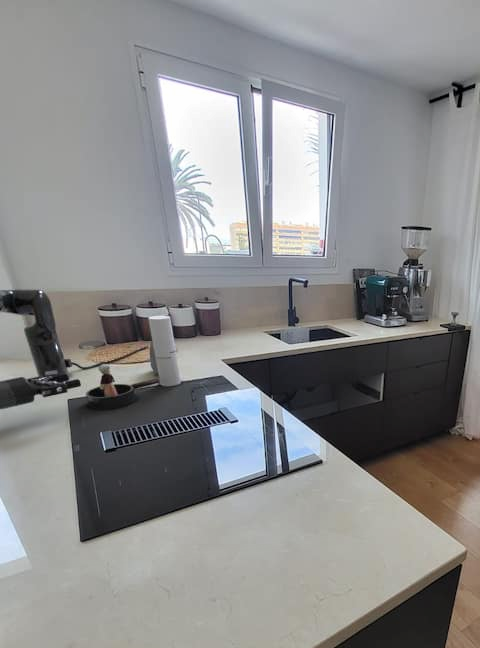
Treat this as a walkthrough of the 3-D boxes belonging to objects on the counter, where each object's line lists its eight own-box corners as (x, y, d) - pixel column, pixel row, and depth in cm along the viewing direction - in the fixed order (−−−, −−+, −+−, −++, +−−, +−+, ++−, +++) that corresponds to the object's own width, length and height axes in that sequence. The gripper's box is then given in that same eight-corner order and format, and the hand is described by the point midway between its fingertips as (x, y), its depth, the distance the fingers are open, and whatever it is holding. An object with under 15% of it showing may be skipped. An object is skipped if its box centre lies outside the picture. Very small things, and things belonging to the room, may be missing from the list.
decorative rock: (151, 369, 166) (144, 334, 160) (167, 367, 170) (161, 332, 164) (158, 380, 154) (151, 342, 148) (176, 377, 158) (170, 340, 152)
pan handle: (131, 390, 136) (130, 385, 135) (128, 389, 137) (127, 384, 136) (161, 382, 144) (160, 378, 143) (158, 381, 145) (157, 377, 144)
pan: (99, 395, 138) (96, 384, 136) (141, 393, 140) (138, 383, 138) (81, 410, 125) (78, 398, 124) (127, 408, 128) (124, 397, 126)
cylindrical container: (184, 382, 153) (174, 317, 143) (169, 387, 147) (157, 319, 137) (171, 379, 155) (160, 315, 145) (156, 384, 149) (143, 317, 140)
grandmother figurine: (115, 404, 129) (106, 367, 124) (102, 404, 128) (92, 367, 123) (122, 396, 136) (114, 360, 131) (110, 396, 135) (101, 361, 130)
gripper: (13, 386, 104) (81, 372, 116) (-5, 375, 111) (60, 363, 124) (22, 412, 107) (87, 396, 119) (4, 400, 114) (67, 386, 127)
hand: (73, 379), depth 121 cm, fingers open, 8 cm apart
